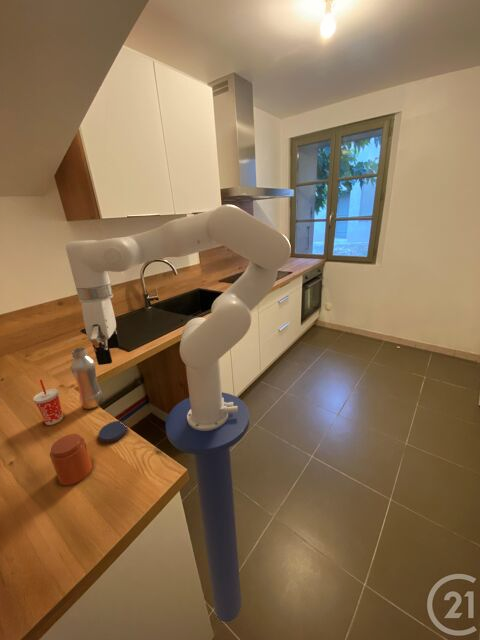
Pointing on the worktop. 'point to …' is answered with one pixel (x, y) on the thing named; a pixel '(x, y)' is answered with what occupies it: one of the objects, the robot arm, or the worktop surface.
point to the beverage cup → (49, 405)
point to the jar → (70, 459)
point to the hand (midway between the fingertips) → (110, 355)
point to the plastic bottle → (86, 379)
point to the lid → (112, 432)
